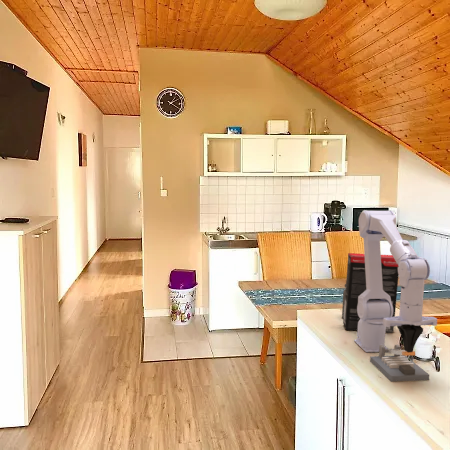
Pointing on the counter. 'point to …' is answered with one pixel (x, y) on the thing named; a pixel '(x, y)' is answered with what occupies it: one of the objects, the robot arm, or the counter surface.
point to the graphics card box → (358, 286)
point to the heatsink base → (398, 367)
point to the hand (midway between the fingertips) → (408, 351)
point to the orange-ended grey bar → (399, 352)
